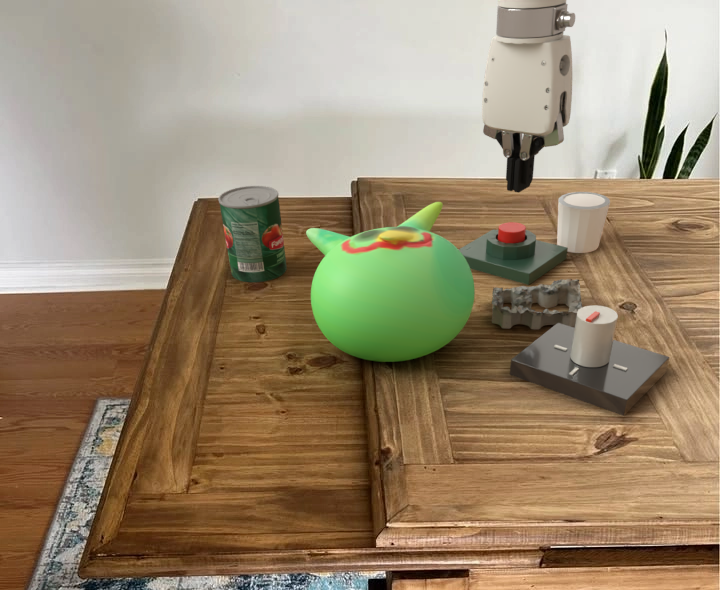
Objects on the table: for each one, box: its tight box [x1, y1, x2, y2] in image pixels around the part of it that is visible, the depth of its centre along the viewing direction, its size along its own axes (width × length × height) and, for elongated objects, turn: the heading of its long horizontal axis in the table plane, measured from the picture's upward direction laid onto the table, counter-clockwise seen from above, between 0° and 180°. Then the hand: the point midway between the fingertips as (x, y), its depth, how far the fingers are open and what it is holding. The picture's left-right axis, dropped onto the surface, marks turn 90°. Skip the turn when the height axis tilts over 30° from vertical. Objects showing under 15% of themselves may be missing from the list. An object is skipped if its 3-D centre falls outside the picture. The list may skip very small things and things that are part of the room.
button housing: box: [457, 229, 568, 286], centre depth 100 cm, size 12×10×4 cm
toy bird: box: [305, 201, 476, 363], centre depth 81 cm, size 18×17×15 cm
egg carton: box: [491, 278, 583, 330], centre depth 87 cm, size 11×8×4 cm
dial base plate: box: [509, 323, 670, 417], centre depth 77 cm, size 13×10×3 cm
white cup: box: [556, 191, 611, 254], centre depth 102 cm, size 7×7×7 cm
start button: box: [497, 221, 527, 243], centre depth 98 cm, size 4×4×2 cm
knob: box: [570, 304, 619, 367], centre depth 75 cm, size 4×4×5 cm
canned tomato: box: [217, 185, 288, 283], centre depth 99 cm, size 8×8×11 cm
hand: (518, 188), depth 94 cm, fingers closed
